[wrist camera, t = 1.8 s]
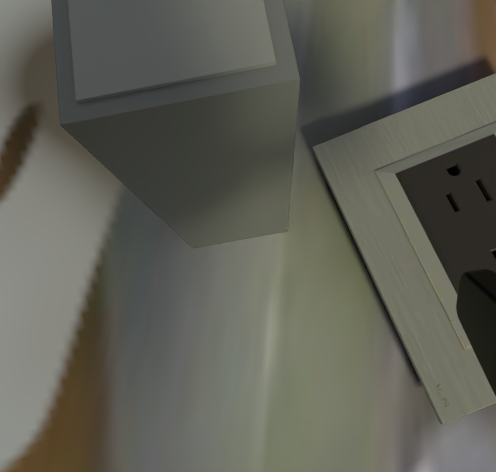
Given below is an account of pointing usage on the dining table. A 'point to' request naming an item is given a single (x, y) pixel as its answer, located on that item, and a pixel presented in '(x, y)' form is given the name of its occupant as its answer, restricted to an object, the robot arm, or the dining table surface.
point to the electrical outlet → (425, 227)
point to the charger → (185, 107)
